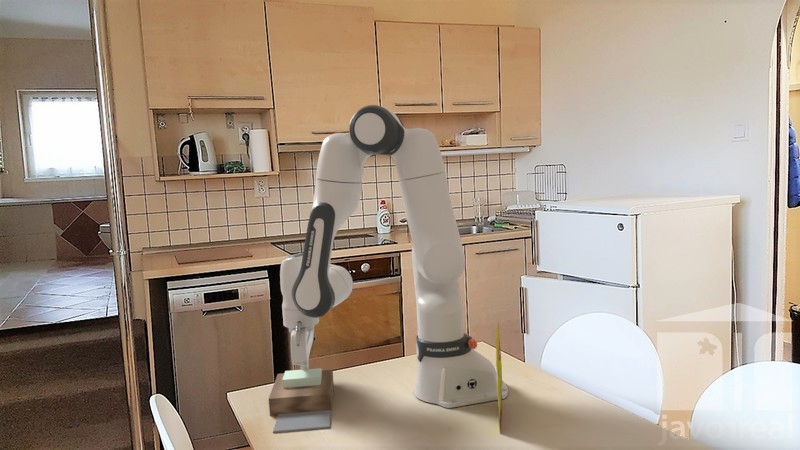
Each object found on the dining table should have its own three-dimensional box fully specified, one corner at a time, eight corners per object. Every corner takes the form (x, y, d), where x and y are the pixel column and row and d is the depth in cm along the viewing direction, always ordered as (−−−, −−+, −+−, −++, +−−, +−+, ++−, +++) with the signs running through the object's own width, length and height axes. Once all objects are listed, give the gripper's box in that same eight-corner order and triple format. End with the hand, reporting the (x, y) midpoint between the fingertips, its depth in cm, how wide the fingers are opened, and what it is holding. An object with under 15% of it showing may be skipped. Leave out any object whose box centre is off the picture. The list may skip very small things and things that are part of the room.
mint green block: (322, 375, 143) (321, 368, 143) (320, 384, 137) (320, 376, 137) (285, 378, 142) (285, 371, 142) (282, 387, 136) (282, 379, 136)
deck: (333, 384, 147) (332, 369, 147) (331, 410, 132) (330, 393, 131) (278, 388, 146) (277, 373, 146) (269, 415, 130) (268, 398, 130)
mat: (331, 411, 131) (331, 409, 131) (329, 428, 123) (329, 426, 123) (278, 415, 130) (278, 414, 130) (273, 432, 122) (273, 431, 122)
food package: (502, 434, 116) (499, 338, 114) (496, 434, 116) (493, 338, 114) (504, 403, 131) (501, 317, 129) (499, 402, 131) (496, 317, 129)
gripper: (310, 327, 133) (314, 384, 134) (316, 306, 153) (319, 356, 155) (282, 329, 133) (287, 386, 134) (292, 308, 153) (296, 358, 154)
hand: (304, 370), depth 145 cm, fingers closed
